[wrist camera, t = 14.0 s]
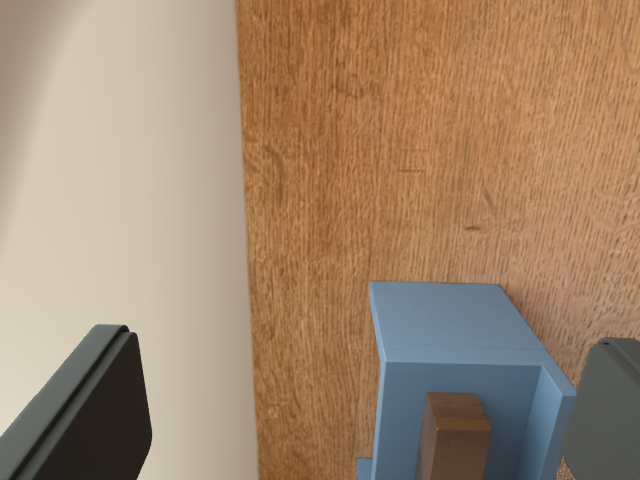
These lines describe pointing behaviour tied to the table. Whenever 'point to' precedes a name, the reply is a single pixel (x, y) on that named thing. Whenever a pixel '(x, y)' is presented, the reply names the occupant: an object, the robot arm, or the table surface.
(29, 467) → the robot arm
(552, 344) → the table surface
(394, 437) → the blue stepped block
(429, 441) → the stick
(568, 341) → the table surface
